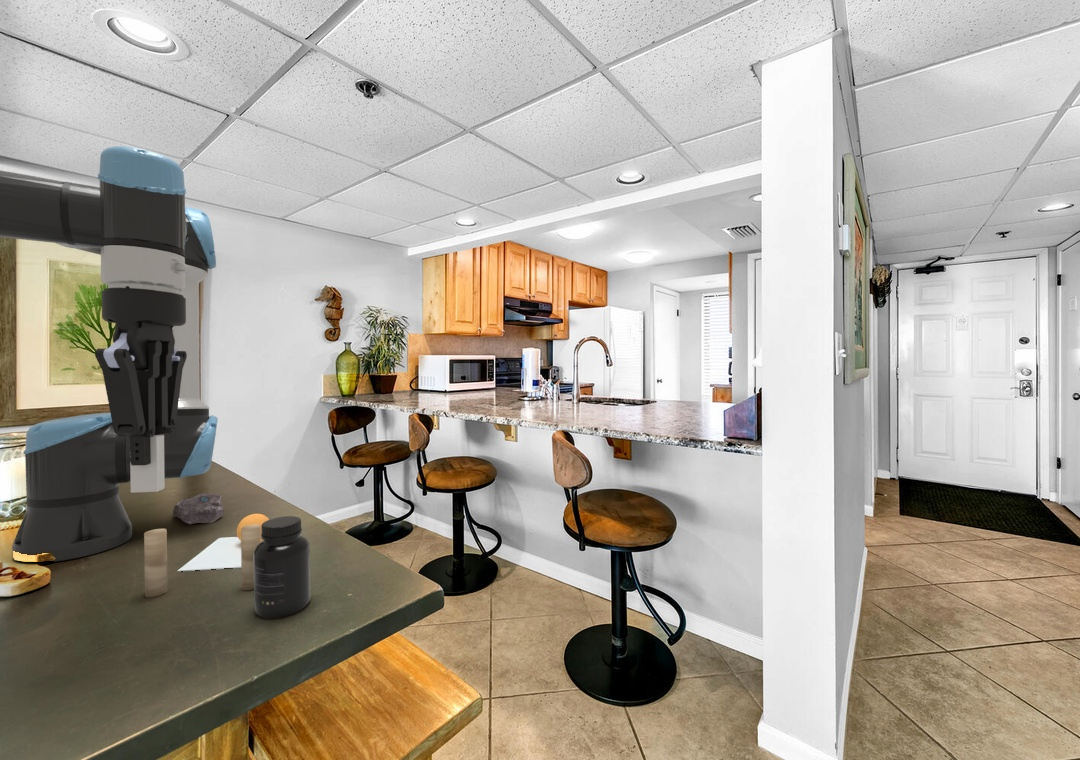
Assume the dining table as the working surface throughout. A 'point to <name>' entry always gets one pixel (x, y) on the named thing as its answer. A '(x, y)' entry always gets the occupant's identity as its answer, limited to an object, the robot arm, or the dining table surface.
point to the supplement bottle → (281, 568)
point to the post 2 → (248, 554)
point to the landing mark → (217, 556)
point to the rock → (199, 509)
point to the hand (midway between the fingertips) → (147, 490)
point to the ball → (251, 522)
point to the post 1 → (155, 562)
